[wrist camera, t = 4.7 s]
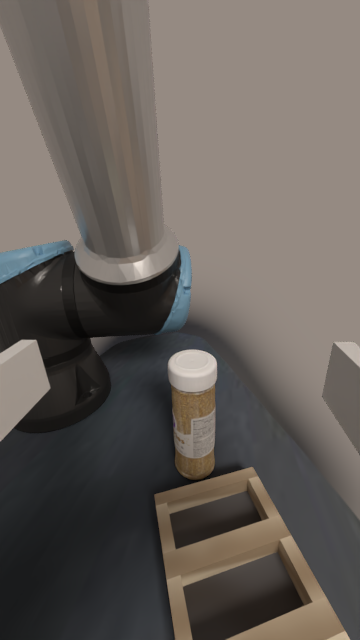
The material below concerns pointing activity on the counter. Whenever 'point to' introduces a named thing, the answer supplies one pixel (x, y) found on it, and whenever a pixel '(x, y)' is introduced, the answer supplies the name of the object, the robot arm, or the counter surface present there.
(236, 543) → the slotted wooden board
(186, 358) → the sprinkles bottle
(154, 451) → the counter surface
